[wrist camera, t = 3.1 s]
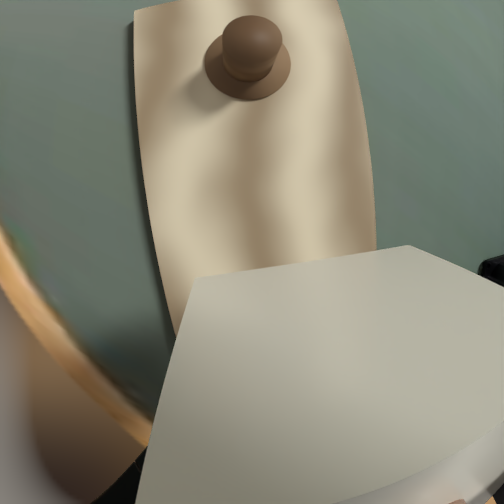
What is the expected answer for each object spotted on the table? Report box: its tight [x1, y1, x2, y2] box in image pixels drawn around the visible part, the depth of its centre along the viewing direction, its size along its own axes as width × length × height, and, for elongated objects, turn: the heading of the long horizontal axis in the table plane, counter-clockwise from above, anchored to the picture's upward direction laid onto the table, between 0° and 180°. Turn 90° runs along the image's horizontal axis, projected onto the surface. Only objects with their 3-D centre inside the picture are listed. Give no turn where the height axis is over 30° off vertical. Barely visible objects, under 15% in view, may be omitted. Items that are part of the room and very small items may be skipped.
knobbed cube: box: [135, 245, 504, 504], centre depth 5 cm, size 6×6×7 cm
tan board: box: [134, 0, 376, 338], centre depth 15 cm, size 14×24×4 cm, turn 7°
